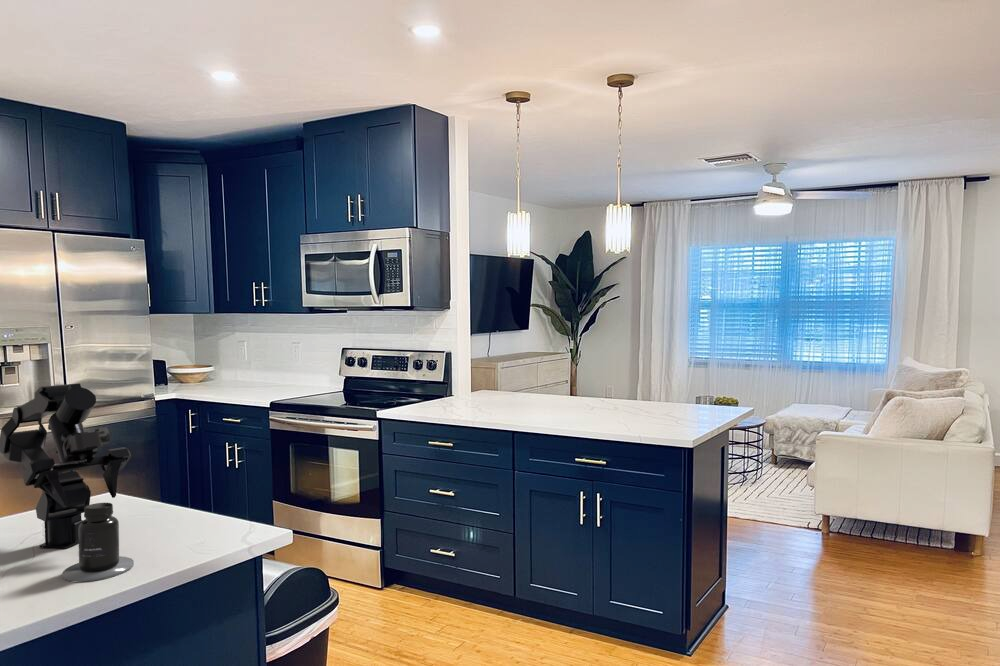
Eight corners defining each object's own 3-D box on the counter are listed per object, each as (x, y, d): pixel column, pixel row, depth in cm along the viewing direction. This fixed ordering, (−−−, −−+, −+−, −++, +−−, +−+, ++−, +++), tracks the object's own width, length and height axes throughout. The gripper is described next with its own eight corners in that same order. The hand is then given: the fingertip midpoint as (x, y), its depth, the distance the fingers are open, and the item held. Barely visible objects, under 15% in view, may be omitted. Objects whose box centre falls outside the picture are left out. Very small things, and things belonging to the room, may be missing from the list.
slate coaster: (46, 581, 129) (46, 578, 129) (90, 558, 141) (90, 555, 141) (107, 582, 128) (107, 580, 128) (146, 559, 140) (146, 556, 140)
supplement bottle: (85, 576, 130) (83, 513, 130) (74, 567, 135) (72, 506, 134) (125, 566, 135) (123, 505, 134) (113, 557, 140) (111, 498, 139)
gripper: (30, 420, 135) (51, 491, 129) (129, 410, 150) (152, 473, 144) (14, 450, 140) (33, 519, 135) (111, 437, 155) (132, 499, 150)
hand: (90, 501), depth 141 cm, fingers open, 9 cm apart
